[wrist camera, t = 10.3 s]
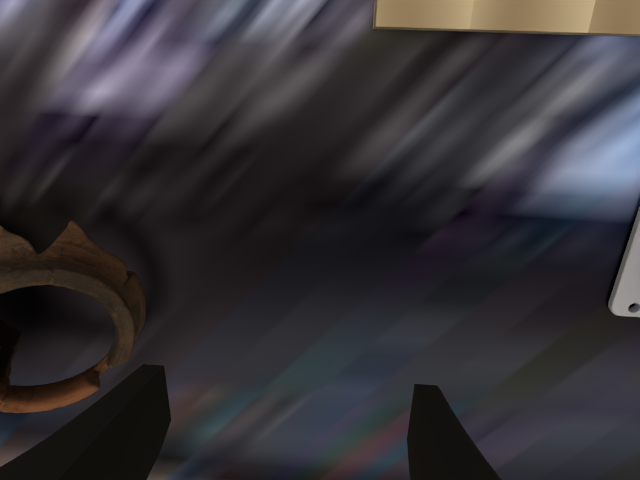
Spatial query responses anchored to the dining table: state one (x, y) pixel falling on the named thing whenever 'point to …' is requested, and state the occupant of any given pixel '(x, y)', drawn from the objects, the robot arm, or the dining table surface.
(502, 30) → the bore block
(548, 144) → the dining table surface
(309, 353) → the dining table surface
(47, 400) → the pottery mug
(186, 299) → the dining table surface
